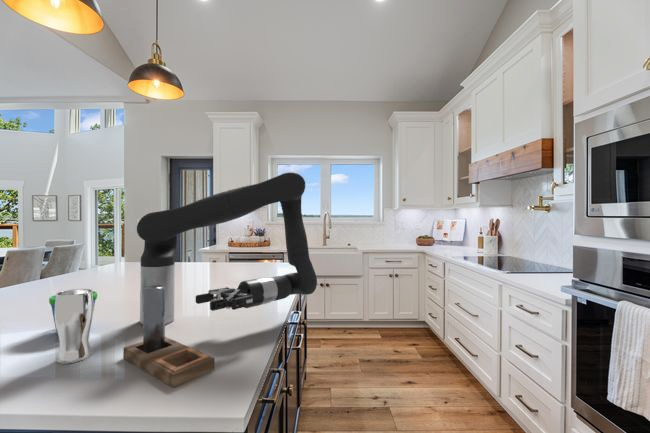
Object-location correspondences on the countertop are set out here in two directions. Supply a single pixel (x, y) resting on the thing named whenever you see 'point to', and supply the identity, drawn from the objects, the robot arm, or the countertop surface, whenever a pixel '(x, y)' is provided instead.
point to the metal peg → (154, 318)
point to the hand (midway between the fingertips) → (203, 302)
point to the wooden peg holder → (170, 362)
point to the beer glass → (73, 324)
